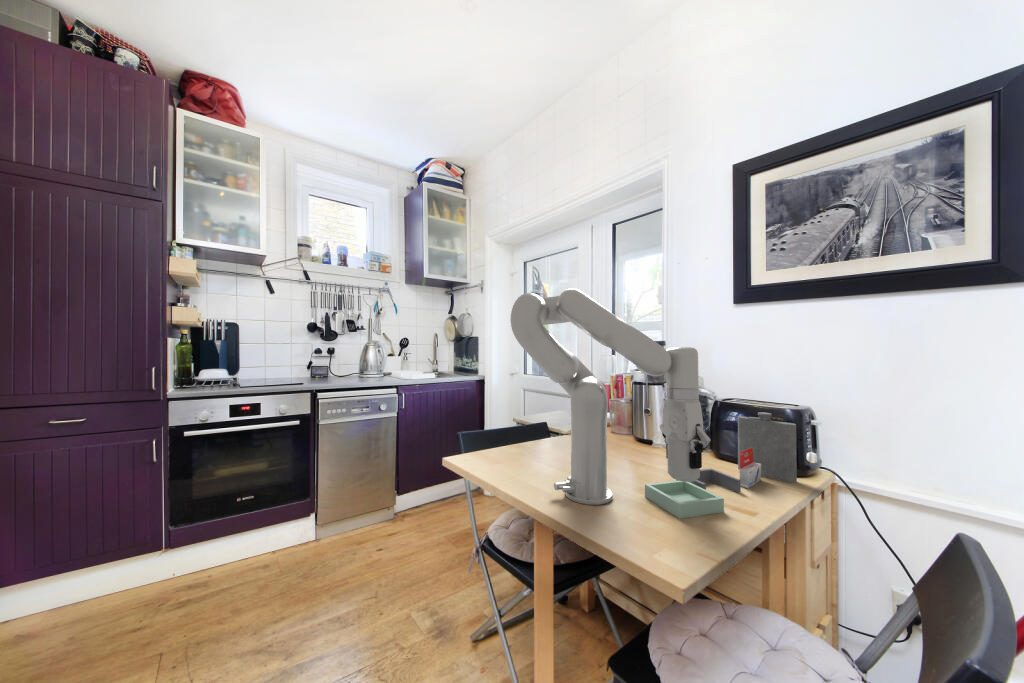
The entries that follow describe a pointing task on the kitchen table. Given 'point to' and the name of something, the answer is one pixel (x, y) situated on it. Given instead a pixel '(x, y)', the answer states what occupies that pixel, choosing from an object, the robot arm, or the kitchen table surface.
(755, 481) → the ink cartridge box
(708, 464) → the kitchen table surface
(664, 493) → the tray
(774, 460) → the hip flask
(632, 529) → the kitchen table surface
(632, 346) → the robot arm
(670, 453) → the can
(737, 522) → the kitchen table surface
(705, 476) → the bay
